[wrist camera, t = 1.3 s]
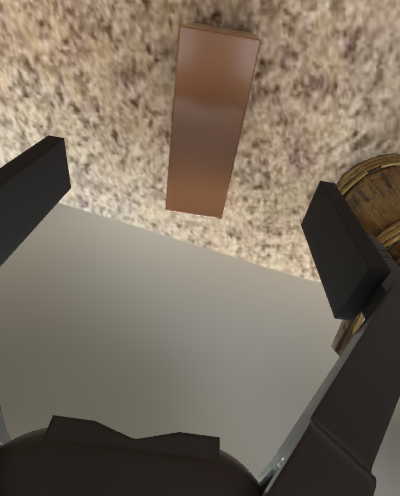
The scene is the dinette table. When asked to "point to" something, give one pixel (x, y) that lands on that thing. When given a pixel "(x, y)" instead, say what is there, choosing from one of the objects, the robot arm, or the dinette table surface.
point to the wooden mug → (373, 216)
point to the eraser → (208, 115)
